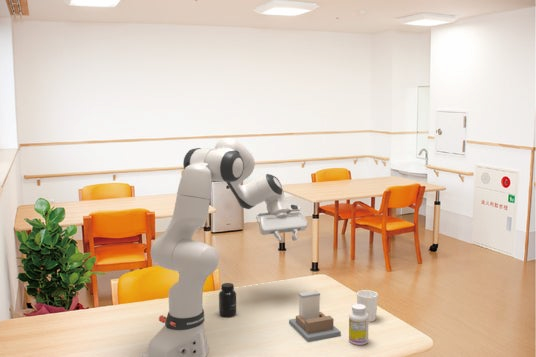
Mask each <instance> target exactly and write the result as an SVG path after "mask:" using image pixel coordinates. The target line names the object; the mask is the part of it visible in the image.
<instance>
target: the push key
mask: <svg viewBox="0 0 536 357" xmlns="http://www.w3.org/2000/svg"><path fill="white" fill-rule="evenodd" d="M320 295H321V292H319V291H318V290H311V291H310V290H309V291H304V292H298V309H299V310H298V315H299V316H300V317H301V318H302V319H303V320H304V321H305V320H307V319H313V318H319V317H320V312H321V311H320V309H321V308H320V300H321V298H320Z"/></svg>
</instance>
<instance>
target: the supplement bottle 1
mask: <svg viewBox="0 0 536 357" xmlns="http://www.w3.org/2000/svg"><path fill="white" fill-rule="evenodd" d="M234 287H235V286H234V283H231V282H224V283H222V284H221V291H219V294H218V309H219V310H218V311H219V312H218V313H219V315H220V316H221V317H225V318H231V317H234V316H235V315H237V292H236V291H235V290H234V289H235V288H234Z"/></svg>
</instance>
